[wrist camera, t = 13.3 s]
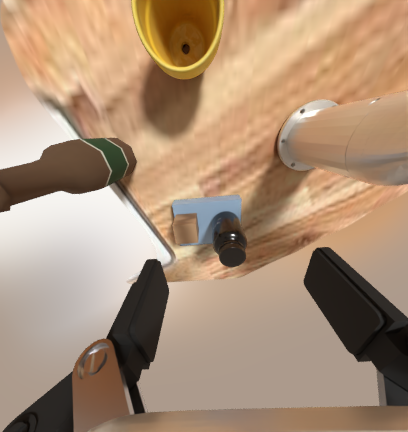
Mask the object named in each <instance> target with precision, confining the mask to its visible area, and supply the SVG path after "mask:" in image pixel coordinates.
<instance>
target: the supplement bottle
mask: <svg viewBox="0 0 408 432" xmlns="http://www.w3.org/2000/svg"><path fill="white" fill-rule="evenodd" d="M212 241H213V248H214V250H215V252H216V253H217V254H218V255H219V259H220V261H221V263H222V264H223V265H225V266H228V267H236V266H239V265H241V264H242V263H243V262H244V261H245V259H246V253H245V249H246V246H247V239H246V236H245V234H244V231H243V228H242V226H241V223H240V220H239V218H238V216H237V215H236V214H234V213H232V212H229V211H223V212H220V213H218V214H217V215H215V217H214V218H213V220H212Z"/></svg>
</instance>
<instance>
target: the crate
mask: <svg viewBox="0 0 408 432" xmlns="http://www.w3.org/2000/svg"><path fill="white" fill-rule="evenodd" d="M172 227H173V232H174V236H175V241H176V244H188V243H198V239H199V227H198V219H197V213H189V214H176V216H175V219H174V222H173V224H172Z"/></svg>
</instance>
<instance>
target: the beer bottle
mask: <svg viewBox="0 0 408 432" xmlns="http://www.w3.org/2000/svg"><path fill="white" fill-rule="evenodd" d="M135 164H136V158H135V156H134V153H133V151H132V148H131V147H130V146H129V145H127V144H126V143H124V142H122V141H121V140H119V139H118V138H96V139H77V140H70V141H66V142H63V143H59V144H55V145H51V146H49V147H48V148H47V149H45V150H44V151H43V153H42V156H41V158H40V159H39V160H37V161H34V162H32V163H27V164H23V165H19V166H14V167H10V168H6V169H2V170H0V212H4V211H9V210H10V206H12V205H15V204H18V203H21V202H25V201H28V200H31V199H34V198H37V197H40V196H44V195H47V194H50V193H54V192H57V191H65V192H68V193H71V194H82V193H86V192H91V191H95V190H99V189H102V188H104V187H106V186H108V185H110V184H112V183H114V182H116V181H118V180H120V179H121V178H123V177H125V176H127V175H129V174H130V173H132V171H133V169H134V166H135Z"/></svg>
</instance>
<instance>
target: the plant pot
mask: <svg viewBox="0 0 408 432" xmlns="http://www.w3.org/2000/svg"><path fill="white" fill-rule="evenodd" d="M131 5H132V13H133V18H134V22H135V26H136V29H137V32H138V35H139V37H140V39H141V42H142V44H143V45H144V47H145V49H146V50H147V52H148V53H149V55H150V56H151V58H152V59H153V60H154V62H155V63H156V64H157V65H158V66H159V67H160V68H161V69H162V70H163V71H164V72H165V73H167V74H168V75H170V76H172V77H174V78H177V79H191V78H194V77H196V76H198V75H200V74H201V73H202V72H204V71H205V70H206V69H207V68H208V66H209V65H210V64H211V62H212V61H213V59H214V57H215V55H216V52H217V50H218V46H219V43H220V39H221V34H222V27H223V19H224V0H131ZM184 44H187V45H188V46H189V48H190V51H189V52H188V54H184V53H183V51H182V47H183V45H184Z"/></svg>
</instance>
